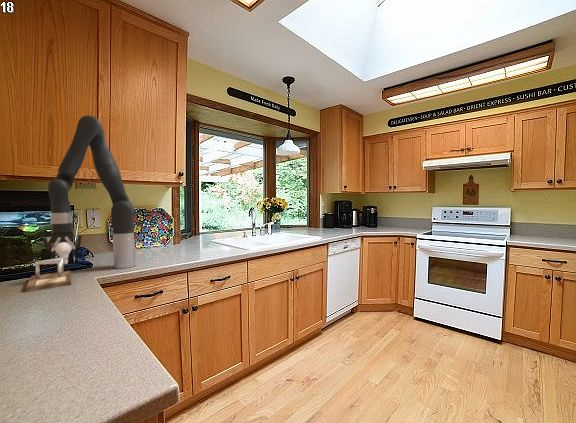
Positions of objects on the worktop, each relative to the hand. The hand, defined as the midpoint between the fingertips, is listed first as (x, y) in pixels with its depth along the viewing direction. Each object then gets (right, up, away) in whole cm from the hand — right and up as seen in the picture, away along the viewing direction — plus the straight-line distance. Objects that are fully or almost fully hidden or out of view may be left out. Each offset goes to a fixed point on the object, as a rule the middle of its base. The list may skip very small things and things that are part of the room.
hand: (64, 257), depth 127 cm
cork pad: (+10, -6, -19) cm, 22 cm away
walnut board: (+6, -7, -14) cm, 17 cm away
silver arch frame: (+4, -6, -12) cm, 14 cm away
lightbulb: (0, -3, 0) cm, 3 cm away
